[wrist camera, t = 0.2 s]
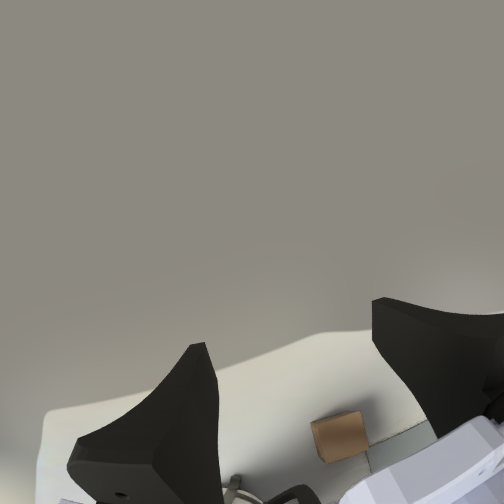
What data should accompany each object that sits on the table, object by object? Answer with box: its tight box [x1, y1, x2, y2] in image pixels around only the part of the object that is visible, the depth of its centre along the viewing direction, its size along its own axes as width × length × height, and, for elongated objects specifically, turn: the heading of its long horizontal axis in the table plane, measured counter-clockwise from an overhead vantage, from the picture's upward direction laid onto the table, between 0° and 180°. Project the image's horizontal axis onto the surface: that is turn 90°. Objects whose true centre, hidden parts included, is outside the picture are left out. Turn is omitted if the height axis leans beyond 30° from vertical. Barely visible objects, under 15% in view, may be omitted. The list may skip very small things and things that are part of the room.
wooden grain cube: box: [310, 411, 370, 464], centre depth 31 cm, size 6×6×6 cm
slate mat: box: [366, 420, 438, 473], centre depth 29 cm, size 12×12×1 cm
